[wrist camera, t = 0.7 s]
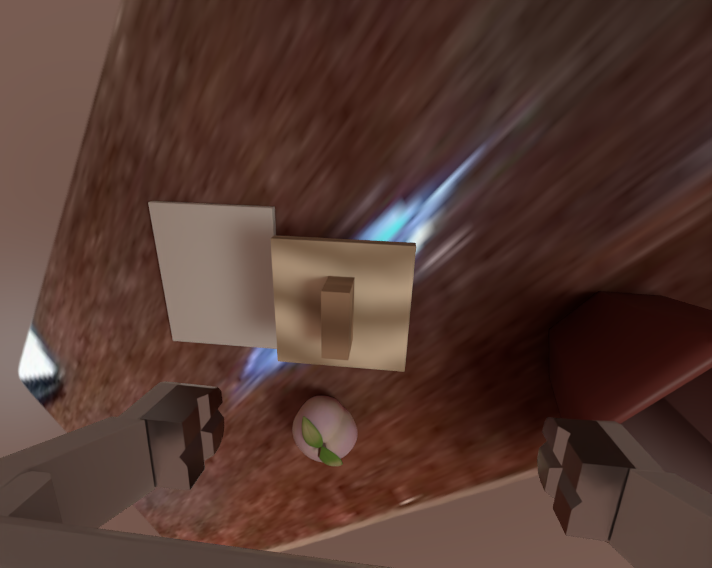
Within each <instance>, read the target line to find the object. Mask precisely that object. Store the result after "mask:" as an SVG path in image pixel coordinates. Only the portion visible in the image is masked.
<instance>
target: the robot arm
mask: <svg viewBox="0 0 712 568" xmlns="http://www.w3.org/2000/svg"><path fill="white" fill-rule="evenodd" d="M221 404H222V394H221V390H220V389H219V388H218V387H211V386H202V385H193V384H184V383H182V384H181V383H175V382H160V383H159V384H157V385H156V386H155V387H154V388H152V389H151V390H150V391H149V392H148V393H146V394H145V395H144V396H143V397H142V398H140V399H139V400H138V401H137V402H136V403H134V404H133V405H132V406H131V407H130V408H128V409H127V410H126V411H125V412H123V413H122V414H121V415H120V416H119V417H110V418H107V419H104V420H101V421H99V422H96V423H93V424H91V425H88V426H85V427H83V428H80V429H77V430H75V431H72V432H69V433H67V434H64V435H61V436H59V437H56V438H53V439H51V440H48V441H45V442H42V443H40V444H37V445H34V446H32V447H29V448H26V449H24V450H21V451H18V452H16V453H13V454H10V455H8V456H5V457H2V458H0V568H390V567H383V566H375V565H368V564H360V563H352V562H345V561H338V560H330V559H322V558H314V557H307V556H299V555H292V554H285V553H277V552H270V551H262V550H255V549H247V548H240V547H232V546H225V545H217V544H210V543H203V542H195V541H188V540H180V539H173V538H165V537H158V536H150V535H143V534H136V533H128V532H120V531H113V530H106V529H98V528H99V527H100V526H102V525H103V524H105V523H106V522H108V521H109V520H111V519H112V518H114V517H115V516H116V515H118V514H119V513H121V512H122V511H124V510H125V509H127V508H128V507H130V506H131V505H133V504H134V503H135V502H137V501H138V500H140V499H141V498H143V497H144V496H146V495H147V494H149V493H150V492H152V491H153V490H154V489H155V487H157V488H169V489H180V490H191V488H192V487H193V485H194V484H195V482H196V481H197V479H198V478H199V476H200V475H201V473H202V472H203V471H204V469H205V466H204V461H205V460H206V459H208V458H210V457H212V456H213V455H214V454H215V453H216V451H217V450H218V448H219V446H220V443H221V440H222V438H223V433H224V417H223V416H222V414H221V413H220V412H219V410H218V408H219V406H220V405H221ZM542 433H543V434H544V436H545V438H546V440H547V442H545V443H544V444H543V445H542V446H541V447H540V448H539V452H538V459H537V463H538V474H539V478H540V481H541V484H542V486H543V488H544V490H545V492H546V493H548V494H549V495H550V496H551V497H552V498H554V499H555V500H554V504H553V510H554V512H555V514H556V516H557V518H558V520H559V522H560V524H561V526H562V528H563V530H564V533H565V535H566V536H573V537H580V538H587V539H594V540H600V541H607V542H610V543H609V544H610V545H611V546H612V547H613V548H614V549H615V550H616V551H617V552H618V553H620V554H621V555H622V556H623V557H624V558H625V559H626V560H627V561H628V562H629V563H630V564H631V565H632V566H633V567H634V568H712V494H710V493H709V492H707V491H705V490H703V489H701V488H700V487H698V486H696V485H694V484H692V483H690V482H689V481H687V480H685V479H683V478H681V477H680V476H678V475H676V474H674V473H667V472H665V471H664V470H663V469H662V468H661V467H660V466H659V465H658V464H657V462H656V461H655V460H654V459H653V458H652V457H651V456H650V455H649V454H648V453H647V452H646V451H645V450H644V448H643V447H642V446H641V445H640V444H639V443H638V442H637V441H636V440H635V439H634V438H633V437H632V435H631V434H630V433H629V432H628V431H627V430H626V429H625V428H624V427H623V426H622V425H621V424H619V423H617V422H615V421H599V420H579V419H564V418H549V417H547V419H546V421H545V422H544V426H543V431H542Z"/></svg>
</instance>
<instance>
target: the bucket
mask: <svg viewBox="0 0 712 568" xmlns="http://www.w3.org/2000/svg"><path fill="white" fill-rule="evenodd" d="M549 378H550V382H551V385H552V389H553V392H554V395H555V399H556V402H557V406H558V409H559V413H560V416H561V418H564V419H579V420H599V421H615V422H617V423H619V424H621V425H622V426H623V427H624V428H625V429H626V430H627V431H628V432H629V433H630V434H631V435H632V437H633V438H634V439H635V440H636V441H637V442H638V443H639V444H640V445H641V446H642V447H643V448H644V450H645V451H646V452H647V453H648V454H649V455H650V456H651V457H652V458H653V459H654V460H655V461H656V462H657V464H658V465H659V466H660V467H661V468H662V469H663V470H664V471H665V472H667V473H674V474H676V475H678V476H680V477H681V478H683V479H685V480H687V481H689V482H690V483H692V484H694V485H696V486H698V487H700V488H701V489H703V490H705V491H707V492H709V493H710V494H712V310H708V309H705V308H702V307H698V306H695V305H692V304H688V303H685V302H681V301H678V300H675V299H671V298H668V297H664V296H657V295H643V294H629V293H615V292H602V291H599V292H597V293H596V294H595V295H593V296H592V297H591V298H589V299H588V300H587V301H586V302H584V303H583V304H582V305H580V306H579V307H578V308H576V309H575V310H574V311H572V312H571V313H570V314H569V315H567V316H566V317H565V318H563V319H562V320H561V321H559V322H558V323H557V324H556V325H554V326H553V327H552V328H550V329H549ZM605 542H607V541H605ZM607 543H610V542H607Z"/></svg>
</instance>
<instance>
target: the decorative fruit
mask: <svg viewBox="0 0 712 568" xmlns="http://www.w3.org/2000/svg"><path fill="white" fill-rule="evenodd" d="M292 432H293V437H294V440H295V443H296V445H297V446H298V448H299V449H300V450H301V451H302V452H303V453H304V454H305V455H306V456H307V457H309V458H311V459H313V460H315V461H319V462H323V463H325V464H327V465H330V466H340V465H342V464H343V463H342V461H341V458H342V457H344V456H345V455H347V454H348V453H349V452H350V450H351V449H352V448H353V446H354V444H355V442H356V440H357V428H356V424H355V422H354V420H353V418H352V416H351V414H350V413H349V411H348V410H347V409H346V408H345V407H343V406H342V405H341V403H340V402H339V401H338V400H336V399H335V398H332V397H329V396H323V395H320V396H315V397H312V398H310V399H309V400H307V401H306V402H305V403H304V404H303V406H302V407H301V408H300V410H299V411H298V413H297V415H296V417H295V419H294V422H293V428H292Z"/></svg>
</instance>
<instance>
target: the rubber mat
mask: <svg viewBox="0 0 712 568" xmlns="http://www.w3.org/2000/svg"><path fill="white" fill-rule="evenodd" d="M148 205H149V210H150V216H151V221H152V227H153V232H154V238H155V244H156V249H157V255H158V260H159V266H160V271H161V277H162V282H163V288H164V294H165V299H166V305H167V310H168V316H169V321H170V327H171V332H172V338H173V341H184V342H197V343H209V344H222V345H234V346H247V347H260V348H272V349H277V338H276V321H275V305H274V288H273V271H272V254H271V238H272V237H273V236H274V235H276V224H275V207H271V206H250V205H228V204H207V203H186V202H164V201H151V202H148Z"/></svg>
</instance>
